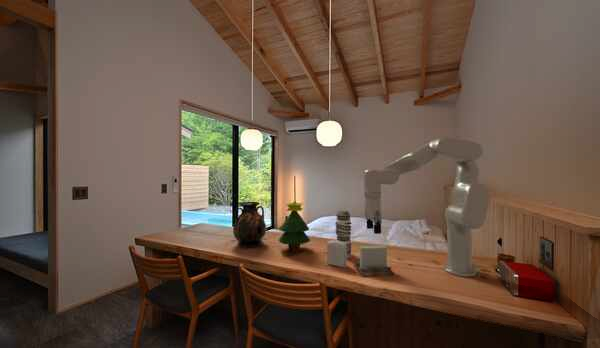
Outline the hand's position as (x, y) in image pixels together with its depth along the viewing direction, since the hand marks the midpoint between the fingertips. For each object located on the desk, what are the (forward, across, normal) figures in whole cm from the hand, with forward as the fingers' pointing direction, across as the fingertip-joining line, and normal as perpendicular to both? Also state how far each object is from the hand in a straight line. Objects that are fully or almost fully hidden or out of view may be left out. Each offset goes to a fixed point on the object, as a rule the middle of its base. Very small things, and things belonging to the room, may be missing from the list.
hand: (373, 230), depth 111 cm
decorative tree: (+18, -33, -38) cm, 53 cm away
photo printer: (+19, -8, -17) cm, 26 cm away
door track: (+19, 0, -1) cm, 19 cm away
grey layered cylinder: (+19, -22, -10) cm, 31 cm away
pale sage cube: (+18, 0, -1) cm, 18 cm away
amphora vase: (+18, -45, -67) cm, 83 cm away
